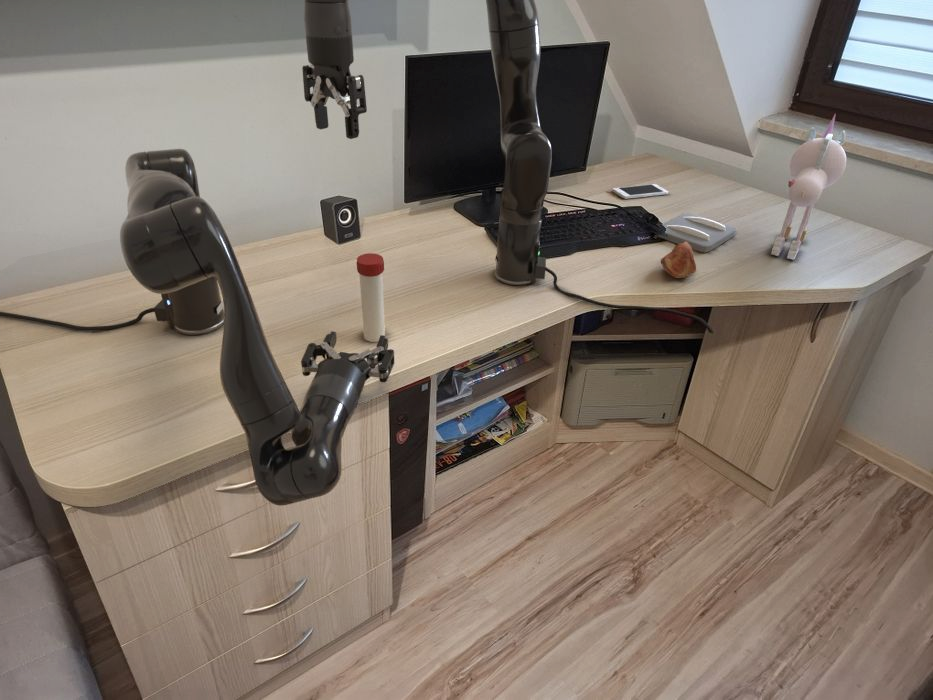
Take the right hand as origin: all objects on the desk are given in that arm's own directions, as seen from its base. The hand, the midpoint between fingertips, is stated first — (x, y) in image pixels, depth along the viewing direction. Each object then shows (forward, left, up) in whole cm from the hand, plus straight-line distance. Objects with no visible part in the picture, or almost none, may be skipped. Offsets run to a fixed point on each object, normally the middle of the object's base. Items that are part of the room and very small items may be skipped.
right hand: (337, 133), depth 113 cm
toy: (-105, -52, -35) cm, 122 cm away
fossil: (-71, -26, -35) cm, 83 cm away
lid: (-8, +12, -19) cm, 24 cm away
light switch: (-79, -50, -35) cm, 100 cm away
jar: (-8, +12, -35) cm, 37 cm away
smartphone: (-69, -80, -35) cm, 111 cm away
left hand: (-8, +23, -28) cm, 37 cm away
